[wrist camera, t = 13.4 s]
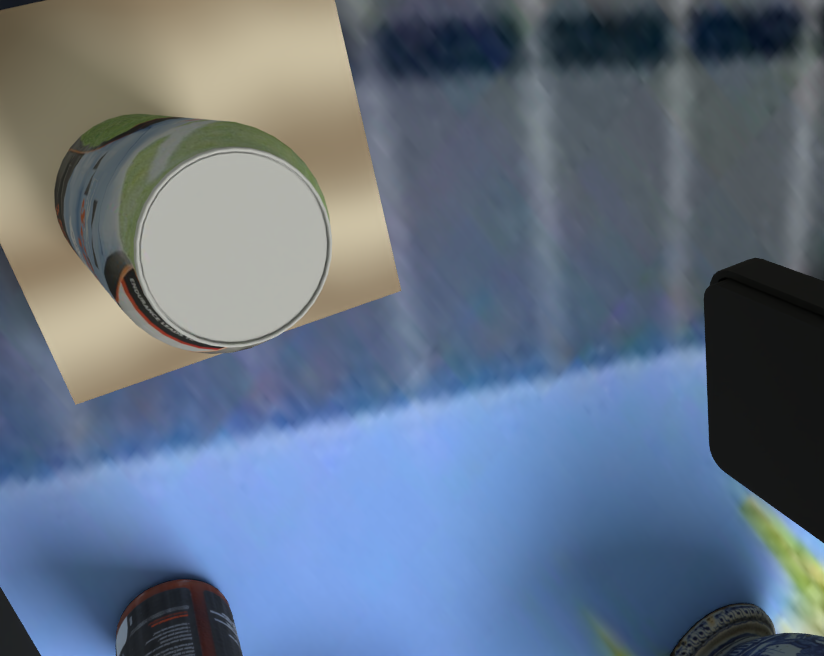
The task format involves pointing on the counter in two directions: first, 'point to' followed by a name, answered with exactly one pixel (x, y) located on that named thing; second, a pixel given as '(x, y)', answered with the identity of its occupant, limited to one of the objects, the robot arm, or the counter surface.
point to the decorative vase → (744, 636)
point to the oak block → (178, 97)
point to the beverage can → (196, 227)
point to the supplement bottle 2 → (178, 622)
